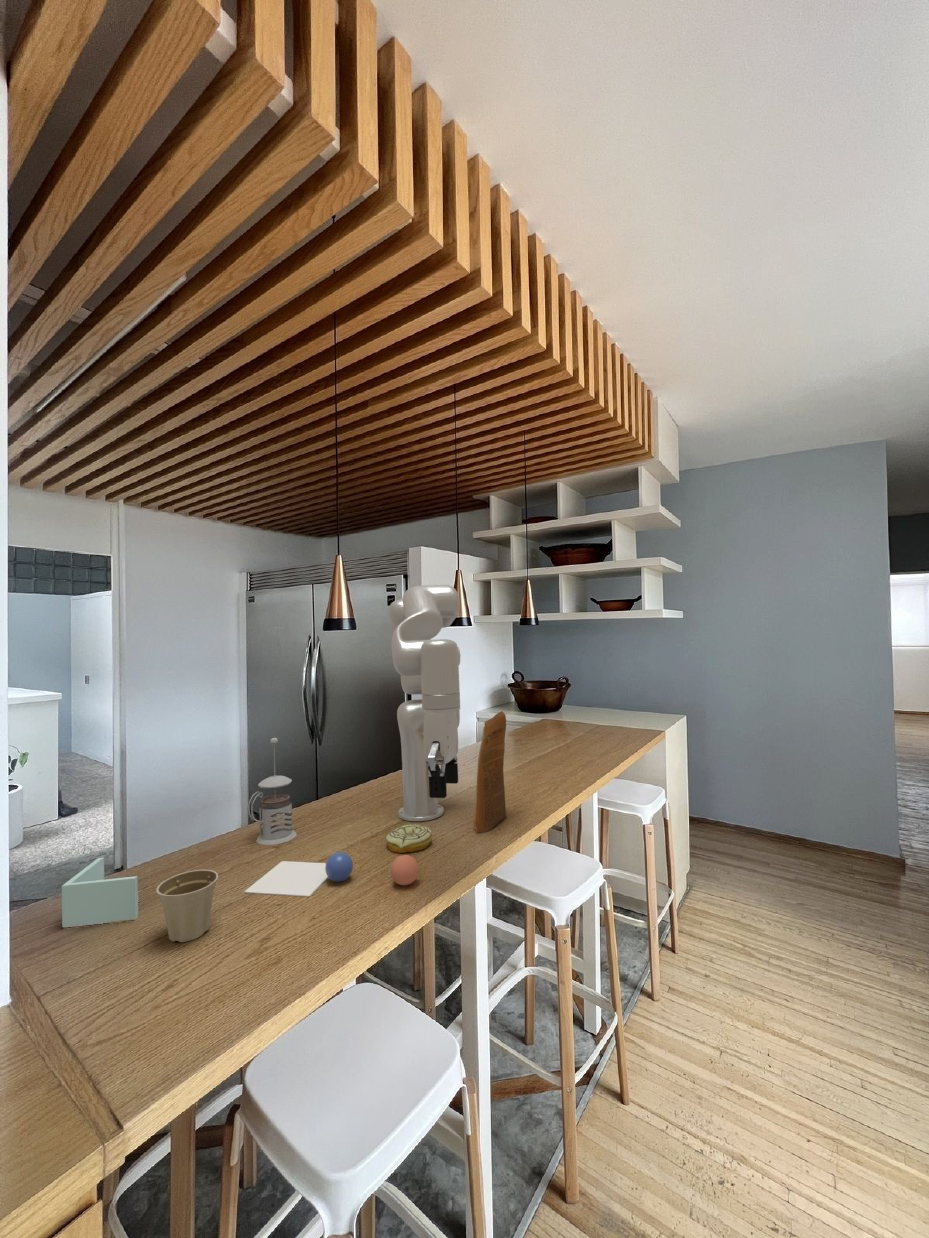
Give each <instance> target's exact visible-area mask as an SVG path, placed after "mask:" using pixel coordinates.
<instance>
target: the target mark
mask: <svg viewBox="0 0 929 1238" xmlns="http://www.w3.org/2000/svg"><path fill="white" fill-rule="evenodd" d="M325 866H326V862H305V861H284V860H281V861H280V862H279V863H278V864H276V865H275V866H274V867H273V868H272V869H270V870H269V871H268V872H267V873H265V874H264V875H263V876H261V878H259V879H258V880H256V881H255V882H254V883H253V884H252V885H251V886H249V887H248V888H246V889H245V890H244V891H243V893H244V894H255V895H257V894H258V895H272V896H289V897H290V896H291V897H294V896H295V897H306V898H307V897H309V898H310V897H311V896H312V895H313V894H314V893H315V892H316V891H317V889H319V888H320V887H321V886H322V885H323V884H324V882H326V880H327V879H329V878H328V876H327V874H326V871H325Z"/></svg>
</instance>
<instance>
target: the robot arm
mask: <svg viewBox="0 0 929 1238" xmlns="http://www.w3.org/2000/svg"><path fill="white" fill-rule="evenodd" d="M460 607H461V601H460V596H459V593H458V591H457V590H456V588H454V587H453V586H451V585H449V584H431V585H429V584H427V585H414V586H412V587H410V588H408V589H407V590H406V591H405V592H404V594H403V596H402V598H400V599H396V600H394V601H393V602H391V603H390V604H389V610H388V613H389V622H390V625H391V628H392V631H393V633H392V636H391V646H390V647H391V654H392V663H393V667H394V669H395V671H396V673H397V674H399V675H400V684H401V688H402V690H403V692H404V693H405V694H408V695H412V696H413V695H421V699H420V698H418V699H411V700H406V701H404V702H402V703H400V705H399V706H398V708H397V711H396V716H397V717H396V718H397V724H398V730H399V735H400V736H399V737H400V745H401V747H400V748H401V767H402V768H401V769H402V772H401V773H402V794H403V795H402V797H403V798H402V799H403V800H402V801H403V806H402V807H401V808H399V809H398V812H397V813H398V814H397V815H398V817H399V818H400V819H401V820H404V821H408V822H409V821H410V822H425V821H433V820H434V819H438V818H440V817H441V816H443V815H444V813H445V811H444V806H442V805H440V804H439V799H445V798H447V796H448V794H447V784H454V785H455V784H458V783H459V766H458V757H457V755H458V753H459V731H458V730H459V729H458V728H459V726H460V721H461V716H460V715H461V714H460V712H461V711H460V710H461V693H460V668H459V667H460V664H461V650H460V648H459V646H458V644H457V642H455V641H454V640H452V639H446V638H444V639H442V638H441V639H433V638H435V637H437V636H438V635H439V633H440V632H441V630H442V629H443V628H448V627H450V626H451V625H452V624H453V623H454V621H455V619H456V618H457V616H458V615H459V612H460Z"/></svg>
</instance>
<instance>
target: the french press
mask: <svg viewBox="0 0 929 1238" xmlns="http://www.w3.org/2000/svg"><path fill="white" fill-rule="evenodd" d="M278 742H279V740H278V738H277V737H273V738H271V739H269V743H270V744H276V743H278ZM275 753H276V751H275V745H273V766H274V767H273V770H274V771H273V772H274V774H273V775H271V776H268V777H267V778H266V777H265V778H264V779H263V780H261V781H260V782H259V783H258V784H257V785H258V788H260V789H264V790H265V789H274V794H271V795H270V794H269V795H267V796H264V793H263V792H260V791H259V790H258V791H256V792H255V793H253V794H252V796H251V798H250V799H249V802H248V805H247V809H248V811H247V812H248V815H249V817H250V819H252V820H253V821H255V822H257V823H258V824H259V834H258V836H257V838H256V839H257V840H256V839H255V842H256V843H257V842H258V843H257V844H260V845H266V846H267V845H268V846H270V845H279V844H282V843H287V842H289V841H292V840H293V839H295V838H296V837H297V834H298V833H297V832H296V831H295V830H294V829H293V804H292V803H293V802H292V801H291V800H290V799H291V796H290V794H283V793H280V794H279V793H278V794H276V792H277V790H276V789H278V788H282V787H285V786H289V785H290V784H291V783H292V781H293V779H291V778H289V777H287V776H285V775H276V755H275ZM257 797H259V798H260V802H261V803H262V804H260V805H259V811H258V812H259V819H256V818H255V815H254V813H253V806H254V803H255V800H256V799H257ZM253 798H254V799H253ZM252 799H253V800H252ZM251 801H252V803H251ZM250 804H251V808H250ZM267 807H271V808H274V809H271V808H267ZM264 808H265V809H264ZM250 810H251V811H250ZM276 814H278V815H276ZM280 814H281V815H280ZM278 819H281V820H278ZM282 819H284V820H282ZM279 824H284V825H279Z"/></svg>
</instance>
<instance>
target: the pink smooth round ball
mask: <svg viewBox="0 0 929 1238" xmlns="http://www.w3.org/2000/svg"><path fill="white" fill-rule="evenodd" d="M419 868H420V867H419V864H418V862H417V860H416V859H415V858H414V856H412V855H409V854H403V855H400V856H397V857H396V858H395V859H394V860H393V862H392V864H391V867H390V875H391V878H392V880H393V881H394V882H395V883H396V884H397V885H400V886H409V885H411V884H412V883H414V881H416V879H417V878H418V875H419V870H420V869H419Z"/></svg>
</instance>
